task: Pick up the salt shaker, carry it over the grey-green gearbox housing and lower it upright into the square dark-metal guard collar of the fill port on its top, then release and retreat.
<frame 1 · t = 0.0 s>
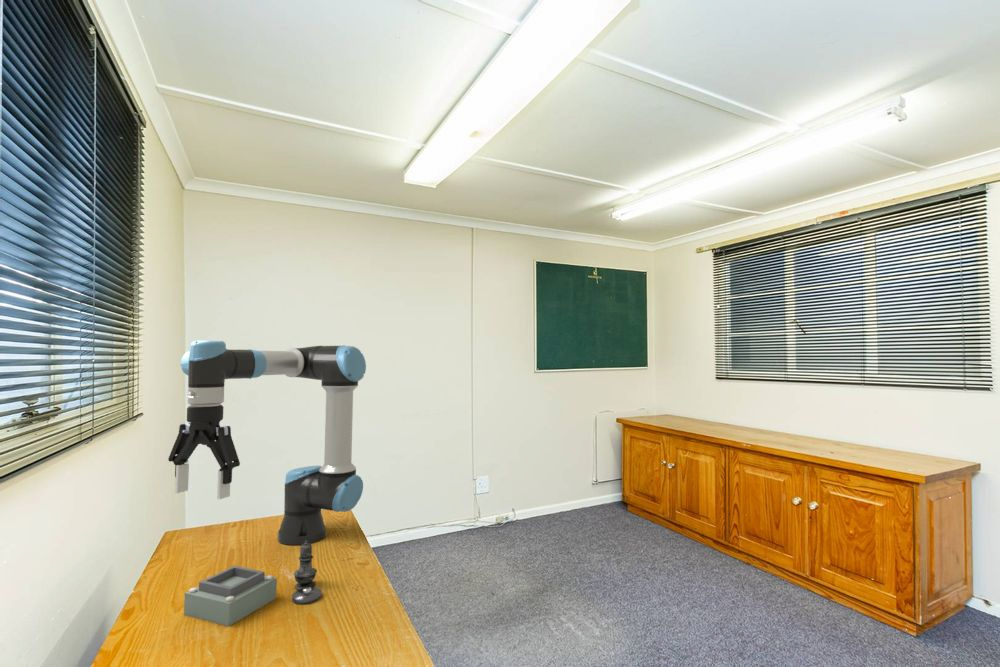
hand: (202, 494, 117), 28 cm above the table, fingers open, 13 cm apart
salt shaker: (305, 586, 131), on the table
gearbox: (231, 606, 120), on the table
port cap: (306, 597, 125), on the table
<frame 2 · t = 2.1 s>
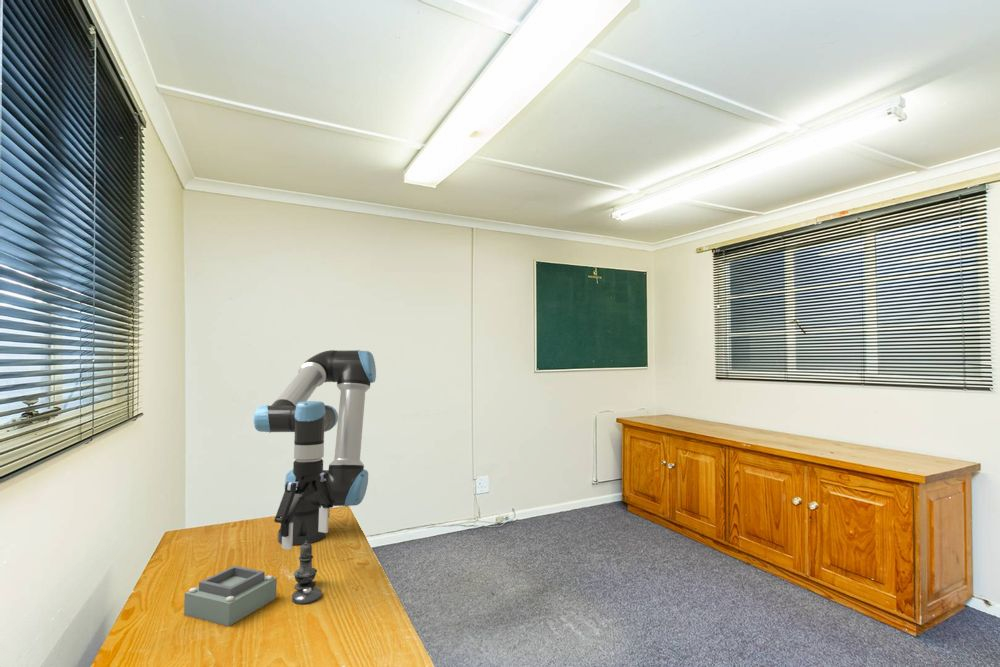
hand: (305, 540, 131), 12 cm above the table, fingers open, 13 cm apart
nothing on the table moved.
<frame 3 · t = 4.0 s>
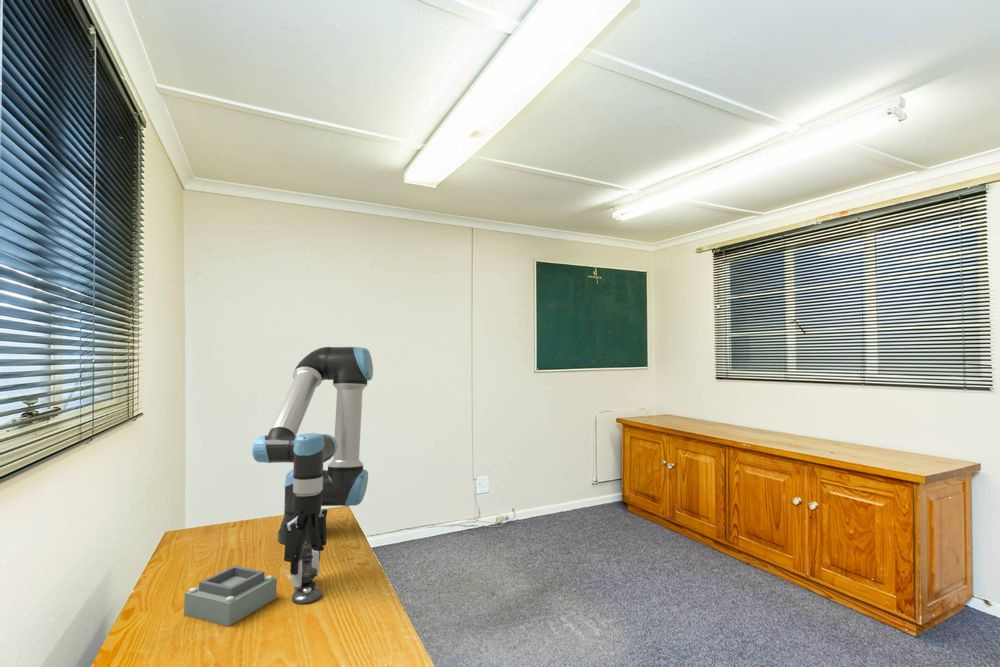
hand: (305, 580, 131), 1 cm above the table, fingers closed on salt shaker, 6 cm apart
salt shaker: (305, 586, 131), on the table, touching gripper
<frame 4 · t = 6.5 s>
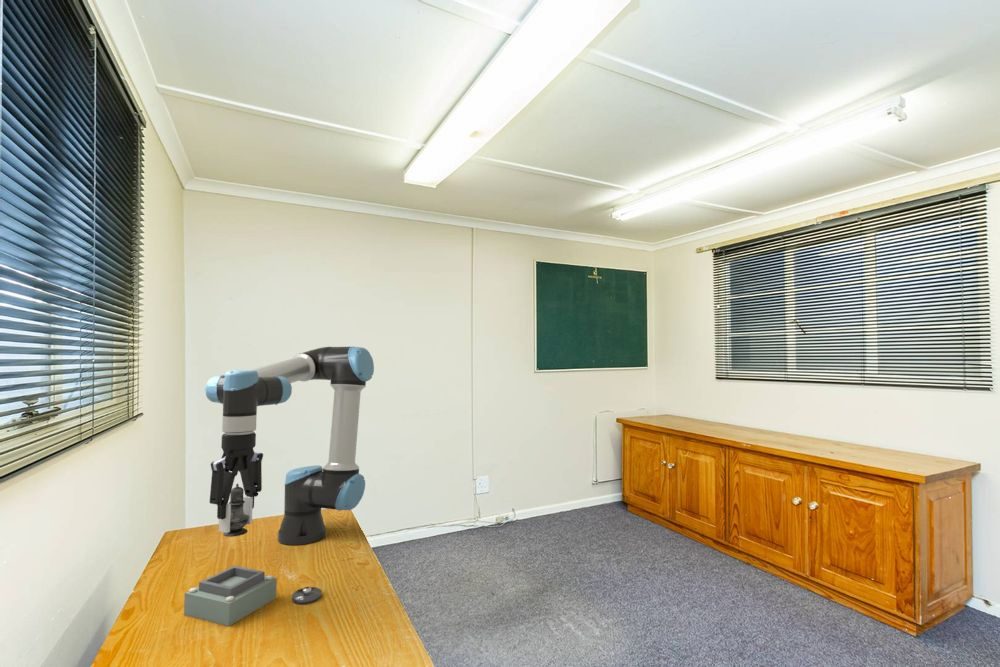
hand: (235, 527, 121), 19 cm above the table, fingers closed on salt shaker, 6 cm apart
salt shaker: (235, 533, 121), point 17 cm above the table, touching gripper
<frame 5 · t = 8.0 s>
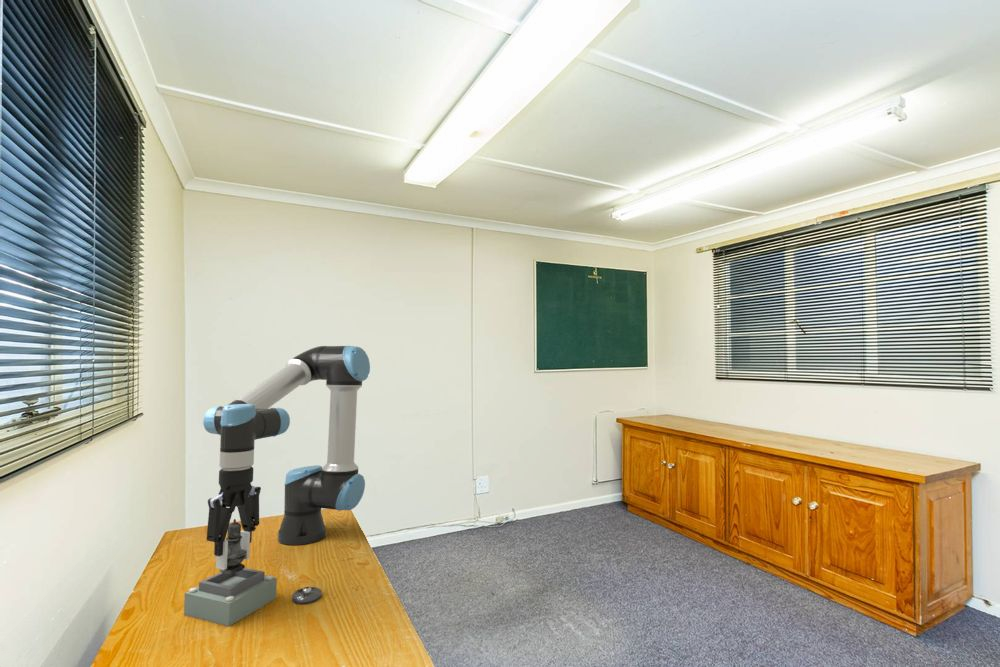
hand: (232, 562, 120), 10 cm above the table, fingers closed on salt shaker, 6 cm apart
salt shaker: (232, 569, 120), point 9 cm above the table, touching gripper
when the fingers open (8 cm above the table, at t = 9.3 s): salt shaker drops 1 cm, resting on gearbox.
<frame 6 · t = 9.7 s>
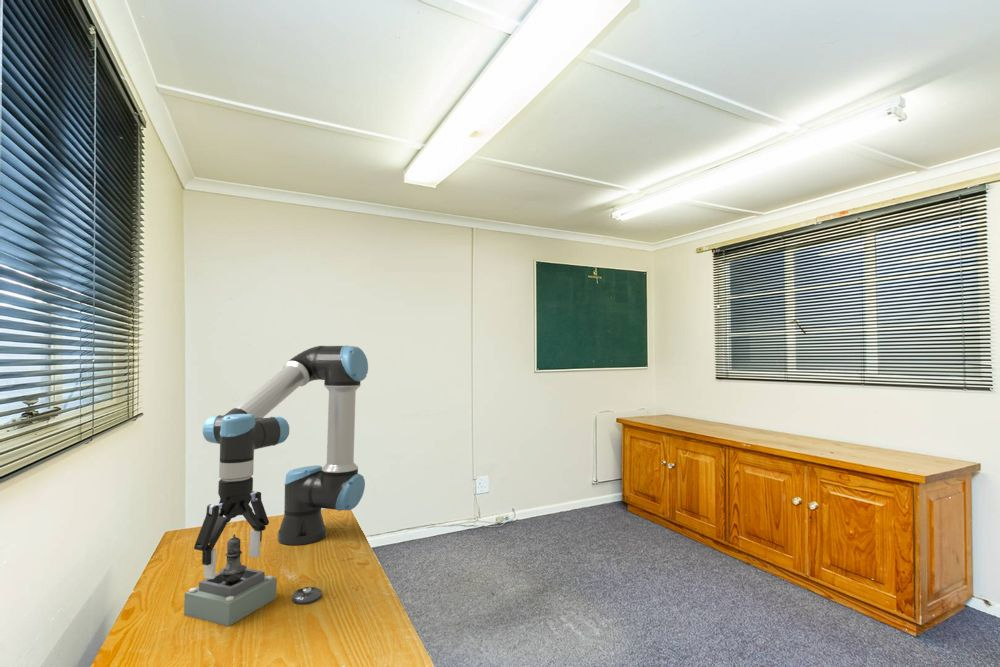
hand: (233, 566, 120), 9 cm above the table, fingers open, 12 cm apart
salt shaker: (232, 585, 120), point 5 cm above the table, touching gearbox
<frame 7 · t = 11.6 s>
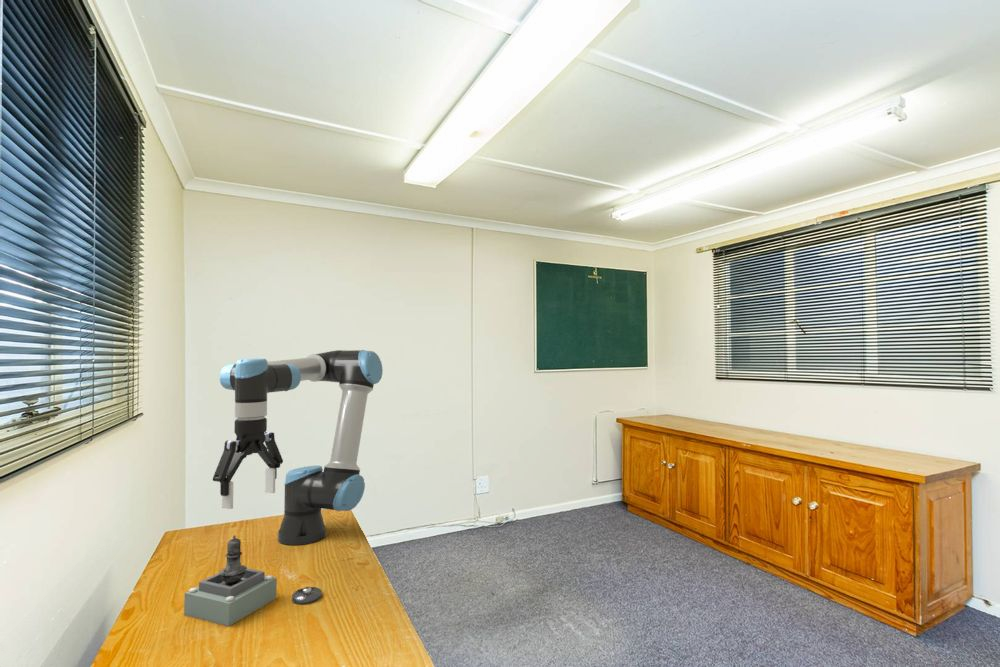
hand: (249, 500, 128), 24 cm above the table, fingers open, 13 cm apart
nothing on the table moved.
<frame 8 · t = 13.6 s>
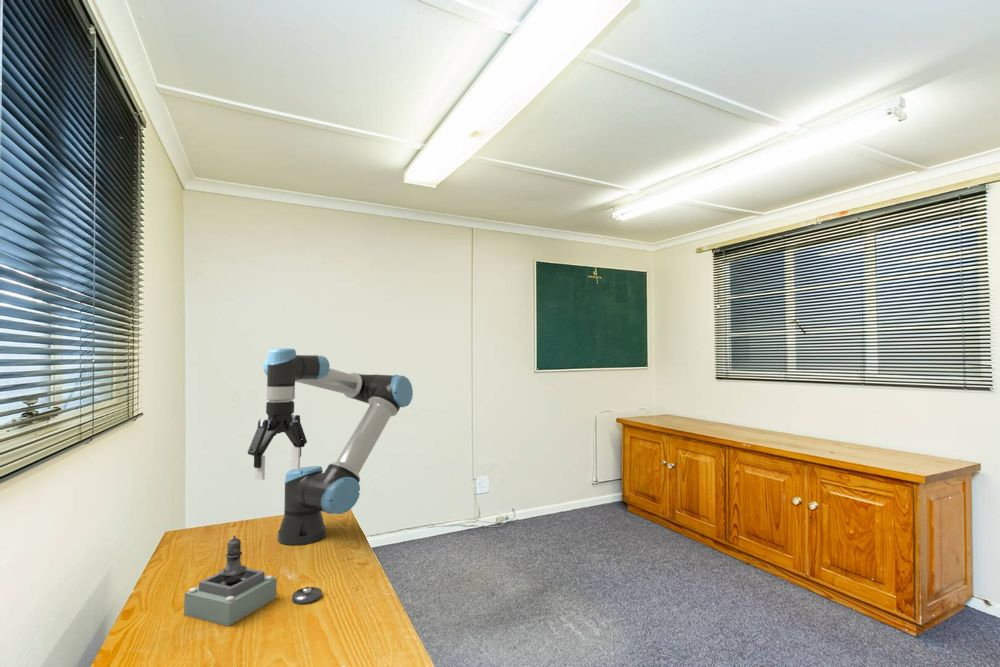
hand: (278, 474, 143), 27 cm above the table, fingers open, 13 cm apart
nothing on the table moved.
at the end: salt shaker 0.1 cm off-centre on the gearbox, point 4.8 cm above the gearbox's base; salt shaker tilted 0°; the gripper is holding nothing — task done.
